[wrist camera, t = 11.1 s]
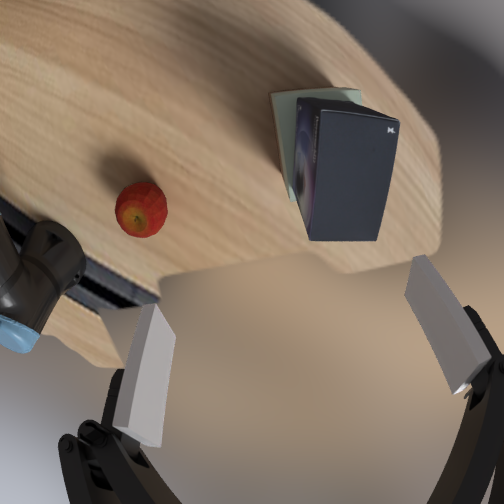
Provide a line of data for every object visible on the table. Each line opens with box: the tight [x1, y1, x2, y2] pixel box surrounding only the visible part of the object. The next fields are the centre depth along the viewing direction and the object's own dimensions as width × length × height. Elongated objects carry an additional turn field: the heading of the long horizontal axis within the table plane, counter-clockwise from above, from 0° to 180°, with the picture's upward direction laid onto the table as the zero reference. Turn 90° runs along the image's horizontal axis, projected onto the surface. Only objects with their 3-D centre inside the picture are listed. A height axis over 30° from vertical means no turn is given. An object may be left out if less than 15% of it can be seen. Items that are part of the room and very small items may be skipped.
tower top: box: [271, 87, 362, 202], centre depth 29 cm, size 9×12×5 cm
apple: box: [115, 182, 168, 238], centre depth 37 cm, size 8×8×8 cm
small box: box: [292, 97, 400, 241], centre depth 23 cm, size 11×6×10 cm, turn 0°
